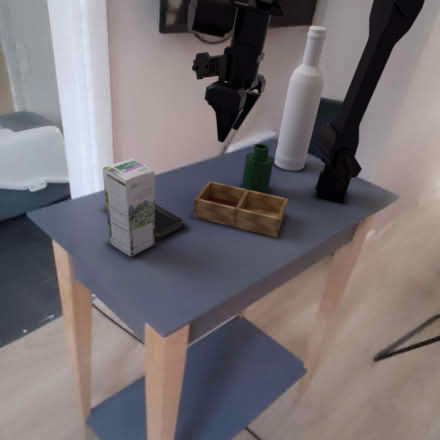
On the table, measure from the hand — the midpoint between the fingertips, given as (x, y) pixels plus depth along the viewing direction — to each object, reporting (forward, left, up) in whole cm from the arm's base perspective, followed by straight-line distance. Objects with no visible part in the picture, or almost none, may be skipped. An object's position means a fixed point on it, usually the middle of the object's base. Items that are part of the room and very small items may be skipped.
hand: (228, 135), depth 76 cm
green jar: (-6, -7, -14) cm, 17 cm away
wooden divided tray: (-6, +6, -14) cm, 16 cm away
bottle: (-11, -25, -14) cm, 31 cm away
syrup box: (+9, +24, -14) cm, 29 cm away
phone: (+11, +15, -14) cm, 23 cm away
